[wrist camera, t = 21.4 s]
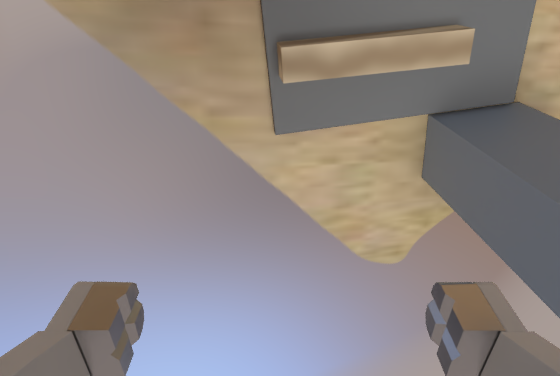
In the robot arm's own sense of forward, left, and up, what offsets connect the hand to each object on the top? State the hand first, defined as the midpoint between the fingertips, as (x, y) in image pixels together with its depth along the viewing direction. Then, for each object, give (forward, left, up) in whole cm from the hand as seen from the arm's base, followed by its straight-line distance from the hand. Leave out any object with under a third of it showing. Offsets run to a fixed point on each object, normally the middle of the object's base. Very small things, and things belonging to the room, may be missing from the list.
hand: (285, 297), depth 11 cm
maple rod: (+1, +14, -35) cm, 37 cm away
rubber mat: (+1, +18, -36) cm, 40 cm away
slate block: (+14, +29, -36) cm, 48 cm away
